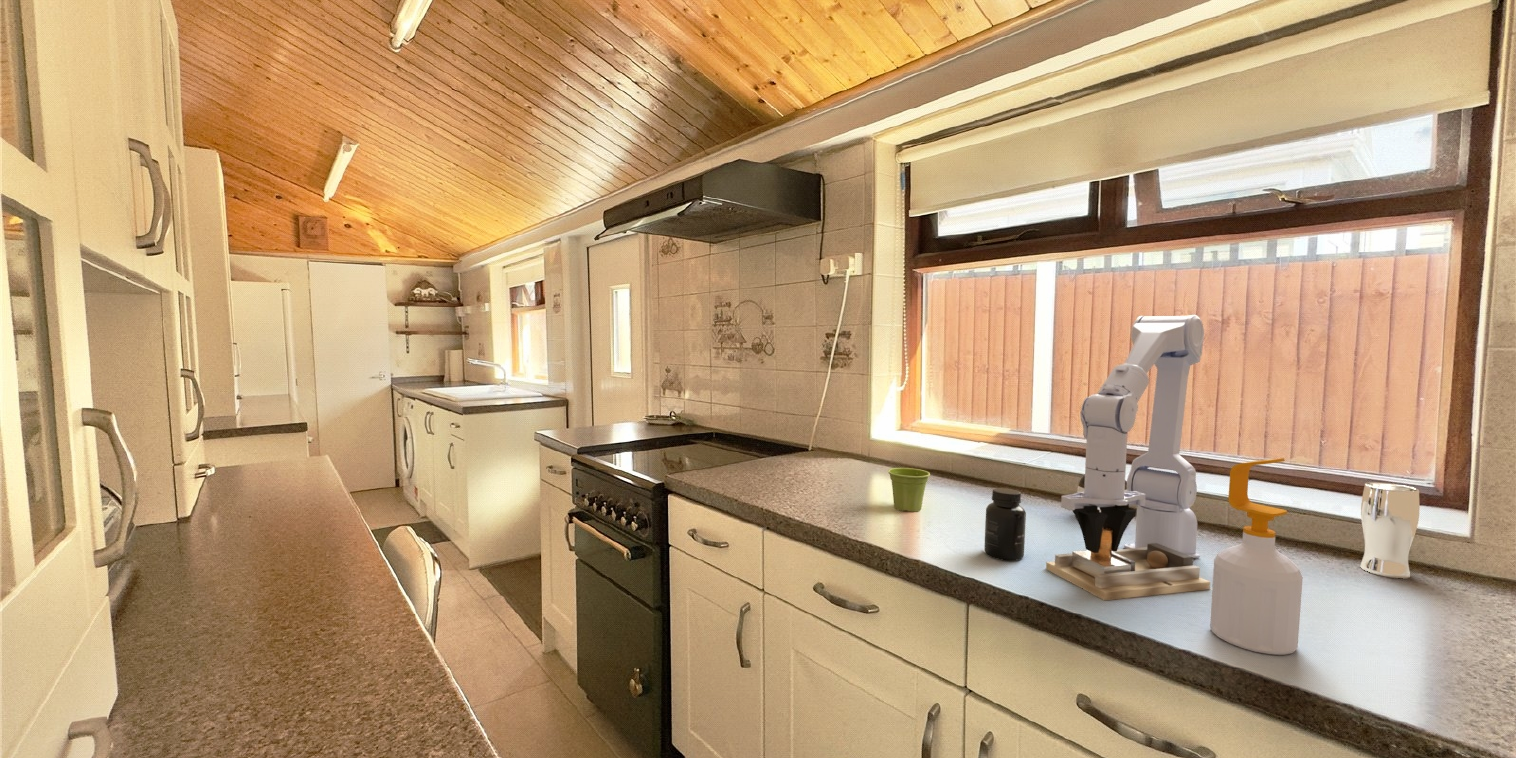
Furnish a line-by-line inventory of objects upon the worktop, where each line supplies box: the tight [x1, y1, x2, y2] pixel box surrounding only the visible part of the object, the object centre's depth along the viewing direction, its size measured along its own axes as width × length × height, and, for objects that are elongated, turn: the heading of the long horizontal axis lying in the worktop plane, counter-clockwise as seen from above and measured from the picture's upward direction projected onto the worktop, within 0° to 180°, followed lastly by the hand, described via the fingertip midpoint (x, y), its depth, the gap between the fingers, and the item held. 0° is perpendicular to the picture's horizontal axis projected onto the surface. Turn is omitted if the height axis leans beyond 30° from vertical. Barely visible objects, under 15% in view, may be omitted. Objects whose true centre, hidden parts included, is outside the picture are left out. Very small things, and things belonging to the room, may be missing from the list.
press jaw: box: [1071, 526, 1135, 577], centre depth 101 cm, size 6×7×7 cm
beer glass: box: [1359, 481, 1421, 580], centre depth 106 cm, size 7×7×15 cm
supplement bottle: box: [983, 487, 1027, 562], centre depth 113 cm, size 7×7×12 cm
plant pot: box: [887, 467, 931, 513], centre depth 143 cm, size 9×9×9 cm
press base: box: [1045, 543, 1211, 601], centre depth 102 cm, size 20×13×4 cm, turn 103°
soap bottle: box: [1209, 457, 1303, 656], centre depth 81 cm, size 9×9×25 cm
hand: (1101, 550), depth 101 cm, fingers closed on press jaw, 3 cm apart
